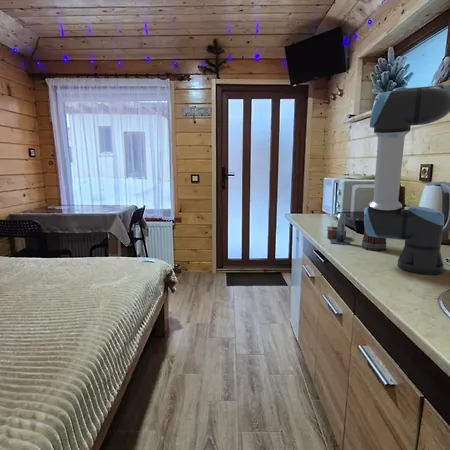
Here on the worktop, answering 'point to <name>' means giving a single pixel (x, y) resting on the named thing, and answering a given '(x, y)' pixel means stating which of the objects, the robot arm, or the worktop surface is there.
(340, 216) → the peg
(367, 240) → the mug
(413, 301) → the worktop surface
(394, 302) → the worktop surface
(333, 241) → the mat
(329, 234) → the block
